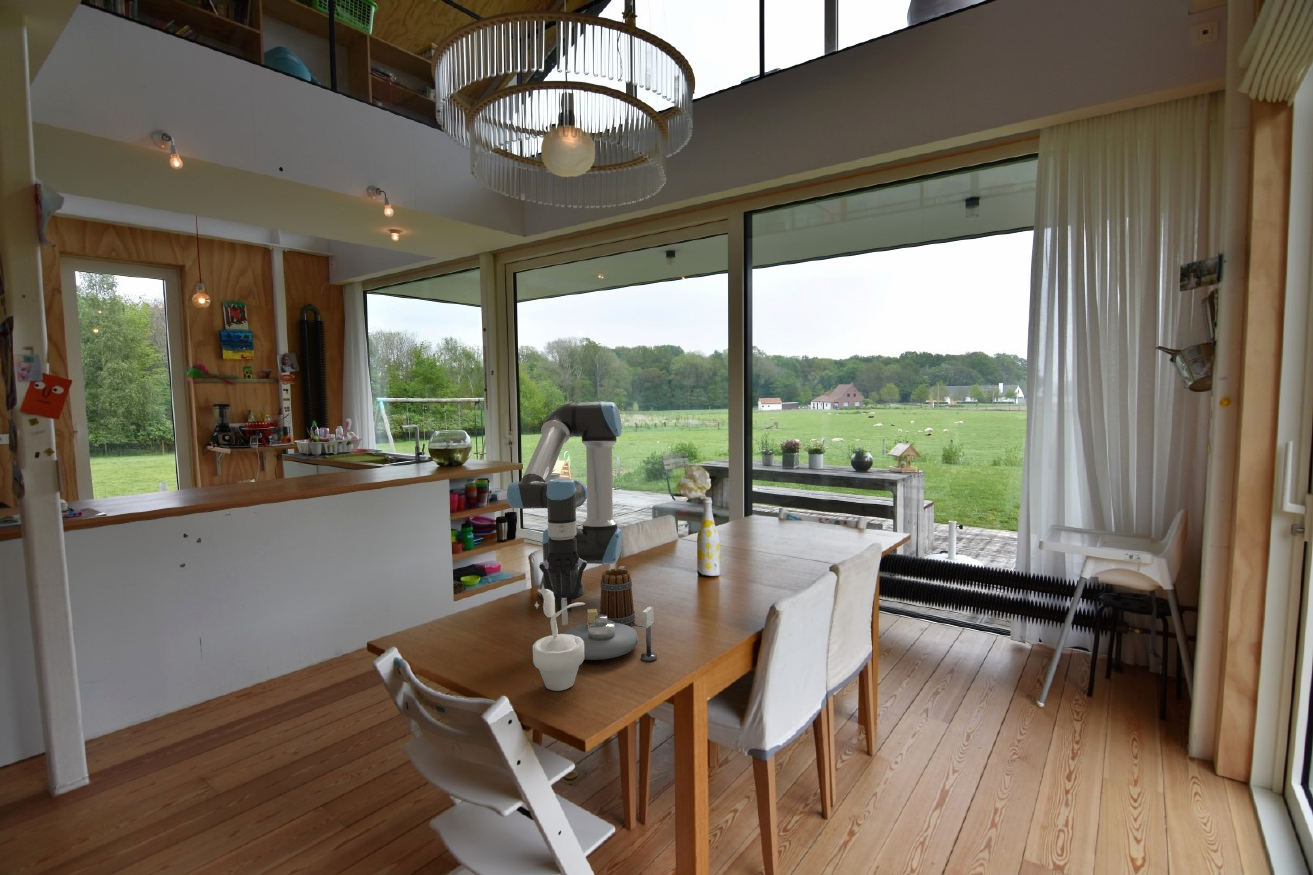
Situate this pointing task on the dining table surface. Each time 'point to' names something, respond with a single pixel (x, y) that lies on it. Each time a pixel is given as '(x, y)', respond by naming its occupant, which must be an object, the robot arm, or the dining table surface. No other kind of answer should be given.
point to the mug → (617, 596)
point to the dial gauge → (647, 634)
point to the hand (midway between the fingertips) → (564, 623)
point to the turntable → (607, 648)
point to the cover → (601, 628)
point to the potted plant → (557, 650)
